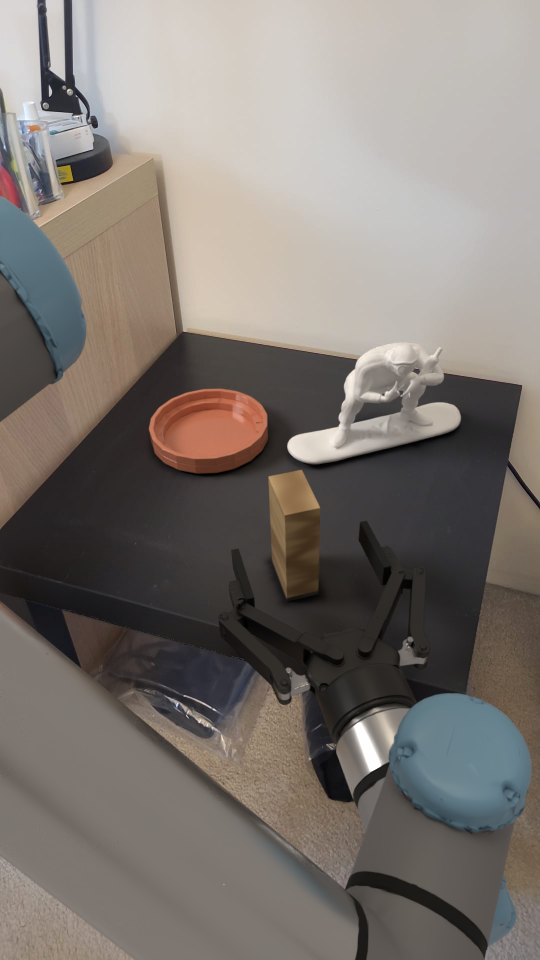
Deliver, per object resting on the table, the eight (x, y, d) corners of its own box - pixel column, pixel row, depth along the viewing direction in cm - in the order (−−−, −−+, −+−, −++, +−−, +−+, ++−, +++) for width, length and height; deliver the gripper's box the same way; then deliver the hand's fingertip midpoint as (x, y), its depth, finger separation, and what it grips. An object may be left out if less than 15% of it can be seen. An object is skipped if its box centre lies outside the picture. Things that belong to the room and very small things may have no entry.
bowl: (145, 477, 90) (142, 460, 88) (159, 407, 102) (157, 390, 100) (268, 474, 90) (267, 456, 88) (267, 404, 102) (267, 387, 100)
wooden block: (286, 601, 74) (284, 515, 65) (272, 562, 78) (268, 476, 70) (318, 594, 75) (320, 507, 66) (302, 555, 79) (301, 469, 70)
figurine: (308, 492, 87) (309, 380, 76) (274, 435, 96) (271, 327, 85) (483, 447, 93) (508, 336, 82) (436, 397, 102) (452, 291, 91)
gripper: (228, 793, 55) (184, 594, 70) (509, 714, 59) (409, 544, 75) (221, 747, 50) (175, 544, 65) (528, 664, 54) (416, 493, 70)
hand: (300, 543), depth 70 cm, fingers open, 13 cm apart
